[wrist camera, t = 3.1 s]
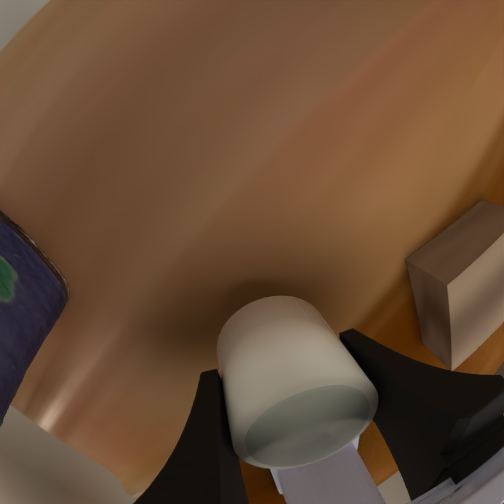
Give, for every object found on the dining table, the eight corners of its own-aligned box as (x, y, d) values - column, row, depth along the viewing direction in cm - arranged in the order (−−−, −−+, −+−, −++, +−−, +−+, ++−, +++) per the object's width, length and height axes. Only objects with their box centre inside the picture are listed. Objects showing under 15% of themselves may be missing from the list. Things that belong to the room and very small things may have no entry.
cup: (327, 368, 14) (373, 442, 9) (230, 395, 14) (249, 483, 9) (321, 281, 12) (387, 354, 8) (203, 312, 12) (214, 408, 7)
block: (485, 283, 20) (518, 304, 16) (420, 341, 20) (451, 371, 16) (478, 198, 16) (521, 213, 13) (402, 257, 16) (447, 285, 13)
